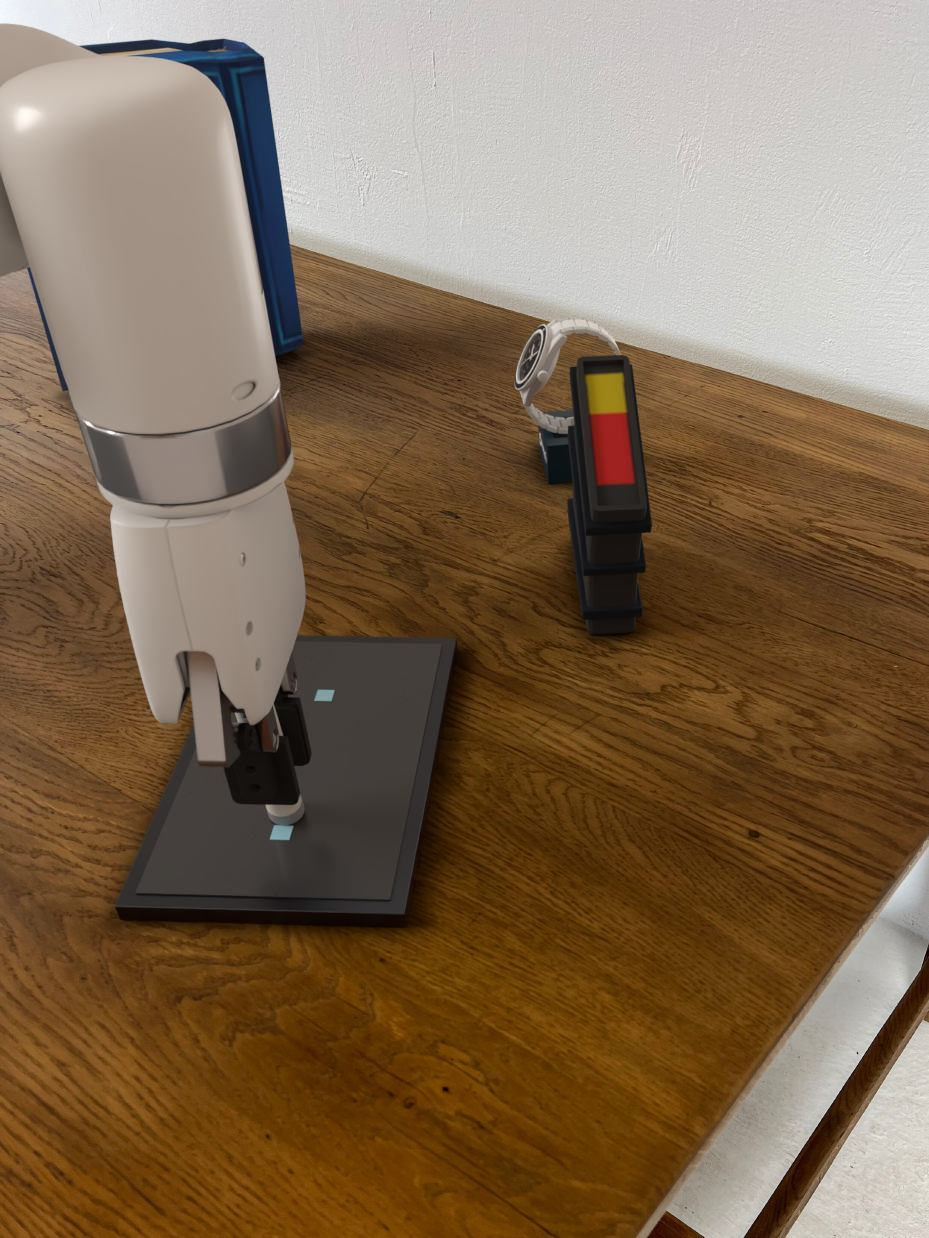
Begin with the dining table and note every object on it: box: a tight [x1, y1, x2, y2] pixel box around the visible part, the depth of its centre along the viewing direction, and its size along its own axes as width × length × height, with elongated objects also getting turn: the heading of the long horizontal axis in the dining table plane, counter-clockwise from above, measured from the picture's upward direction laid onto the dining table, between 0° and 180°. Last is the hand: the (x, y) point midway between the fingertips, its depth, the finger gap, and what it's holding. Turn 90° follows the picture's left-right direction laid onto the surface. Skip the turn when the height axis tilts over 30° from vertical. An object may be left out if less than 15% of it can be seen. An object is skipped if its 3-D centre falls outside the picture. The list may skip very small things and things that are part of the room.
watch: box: [513, 316, 622, 485], centre depth 85 cm, size 6×8×11 cm
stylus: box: [235, 703, 305, 825], centre depth 56 cm, size 2×2×9 cm
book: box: [26, 38, 305, 392], centre depth 93 cm, size 22×7×25 cm, turn 130°
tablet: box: [114, 634, 459, 928], centre depth 63 cm, size 14×22×1 cm, turn 178°
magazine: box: [566, 354, 653, 636], centre depth 72 cm, size 4×13×15 cm, turn 5°
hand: (273, 778), depth 57 cm, fingers closed on stylus, 2 cm apart
